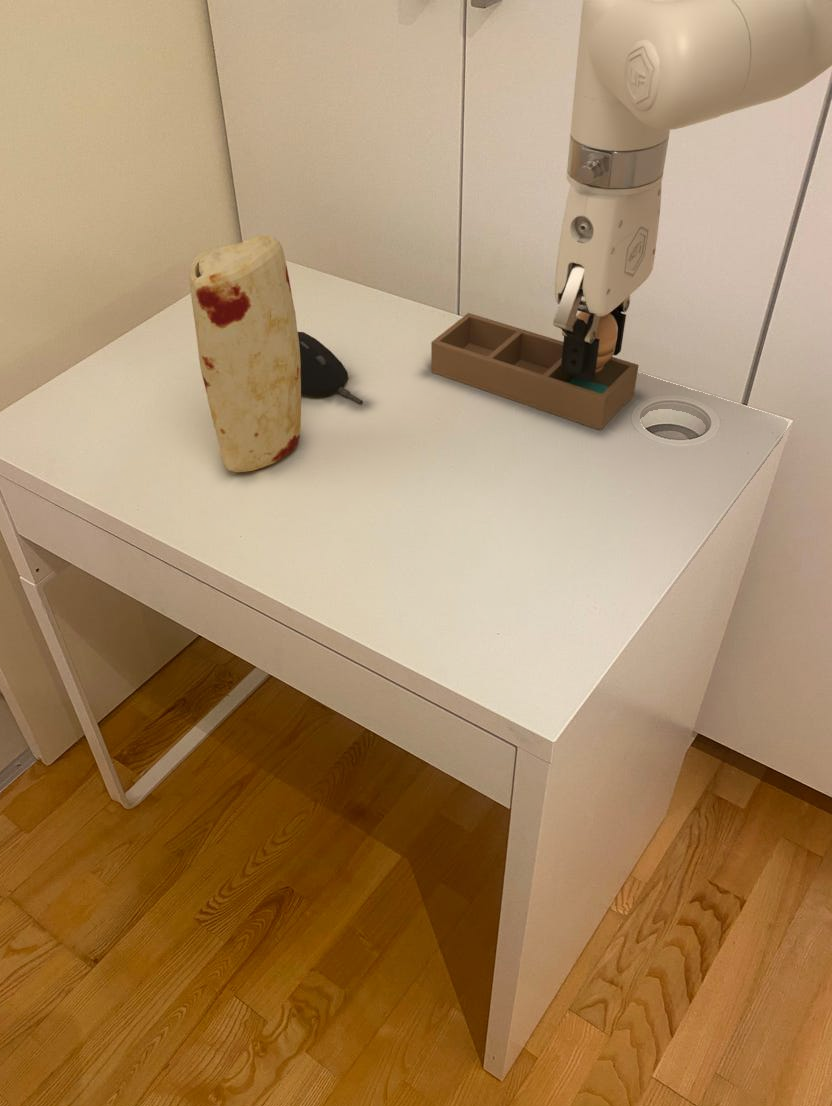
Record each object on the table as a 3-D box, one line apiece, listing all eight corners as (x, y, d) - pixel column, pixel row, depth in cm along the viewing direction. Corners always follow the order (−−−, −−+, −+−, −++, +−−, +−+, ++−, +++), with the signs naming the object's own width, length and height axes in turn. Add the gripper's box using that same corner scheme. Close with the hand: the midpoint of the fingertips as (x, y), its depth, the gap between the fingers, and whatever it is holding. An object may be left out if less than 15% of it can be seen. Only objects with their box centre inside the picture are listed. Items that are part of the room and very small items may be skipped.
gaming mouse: (339, 418, 95) (336, 382, 92) (237, 368, 103) (231, 333, 100) (383, 390, 98) (381, 354, 95) (281, 342, 106) (276, 308, 103)
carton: (467, 342, 103) (468, 312, 101) (633, 396, 95) (638, 364, 92) (431, 372, 100) (431, 341, 98) (600, 430, 91) (604, 399, 89)
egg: (615, 355, 93) (623, 300, 89) (610, 380, 90) (618, 323, 86) (570, 351, 94) (576, 296, 90) (563, 375, 91) (569, 319, 87)
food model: (250, 494, 88) (213, 282, 74) (202, 465, 92) (157, 257, 77) (327, 443, 93) (306, 233, 78) (278, 417, 96) (249, 212, 82)
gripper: (609, 208, 72) (582, 419, 86) (706, 130, 81) (668, 333, 94) (519, 187, 76) (507, 394, 89) (622, 114, 84) (597, 312, 98)
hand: (590, 360), depth 91 cm, fingers closed on egg, 4 cm apart
